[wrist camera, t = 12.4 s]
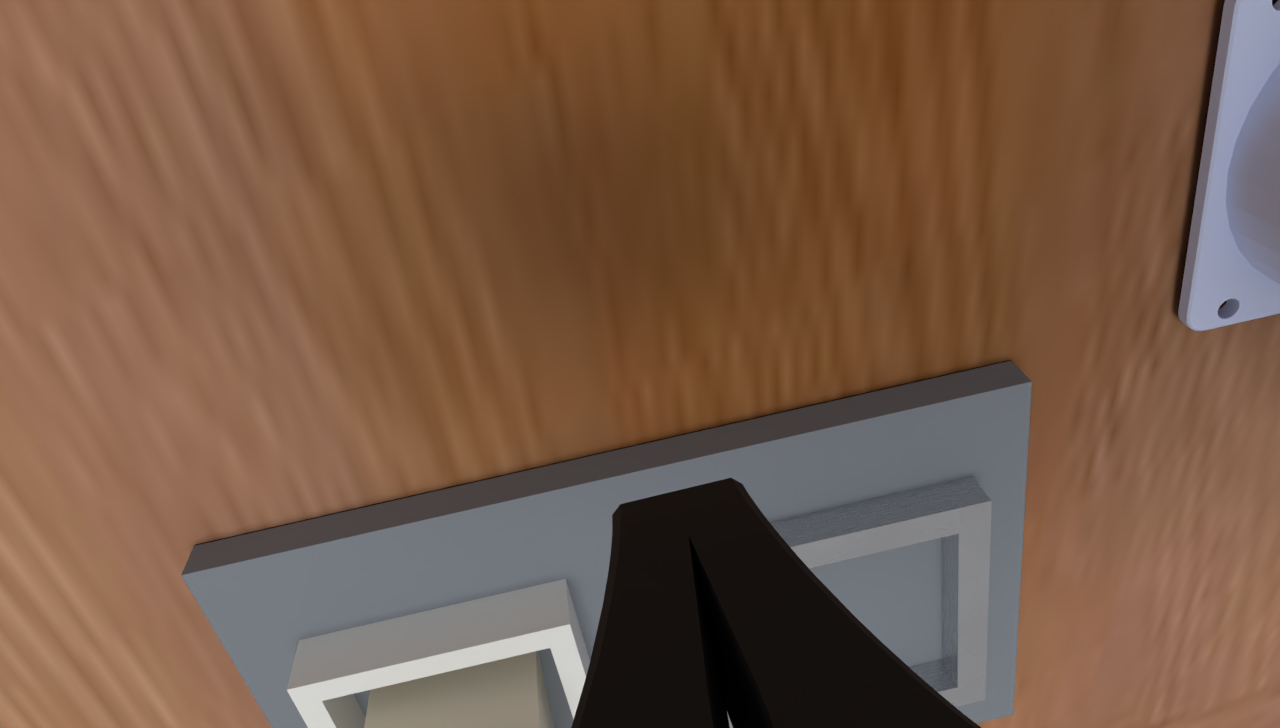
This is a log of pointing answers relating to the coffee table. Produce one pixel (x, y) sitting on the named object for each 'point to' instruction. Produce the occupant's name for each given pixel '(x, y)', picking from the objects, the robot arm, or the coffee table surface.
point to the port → (436, 650)
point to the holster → (909, 520)
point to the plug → (467, 698)
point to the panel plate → (582, 532)
